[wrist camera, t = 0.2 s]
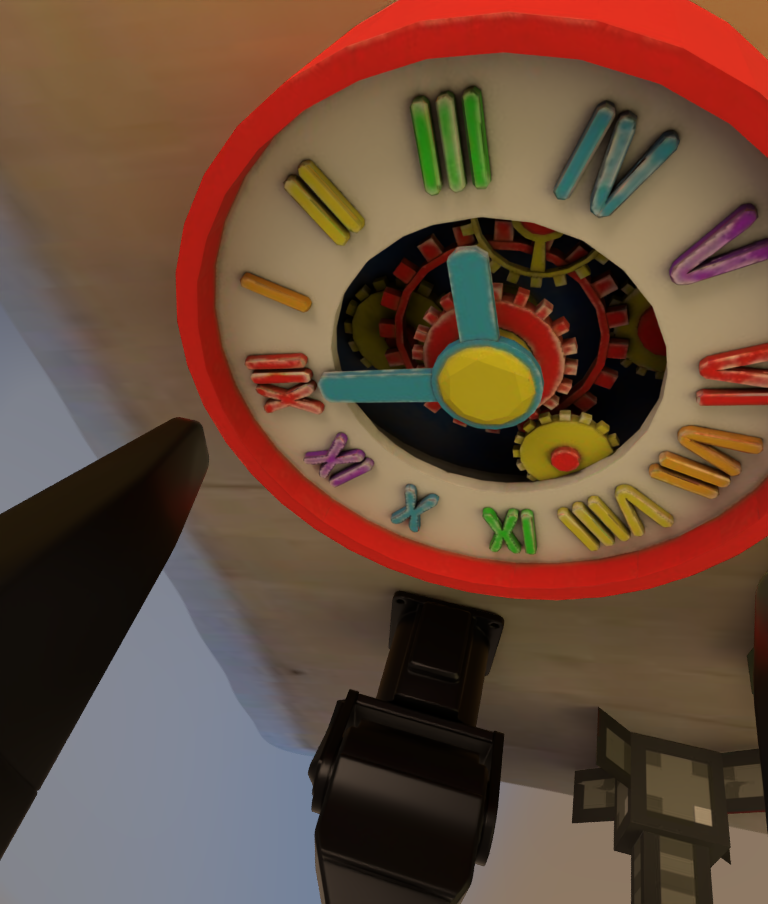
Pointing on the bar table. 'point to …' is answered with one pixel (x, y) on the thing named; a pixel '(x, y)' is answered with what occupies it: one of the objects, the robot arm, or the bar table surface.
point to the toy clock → (499, 293)
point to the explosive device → (667, 808)
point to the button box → (751, 666)
